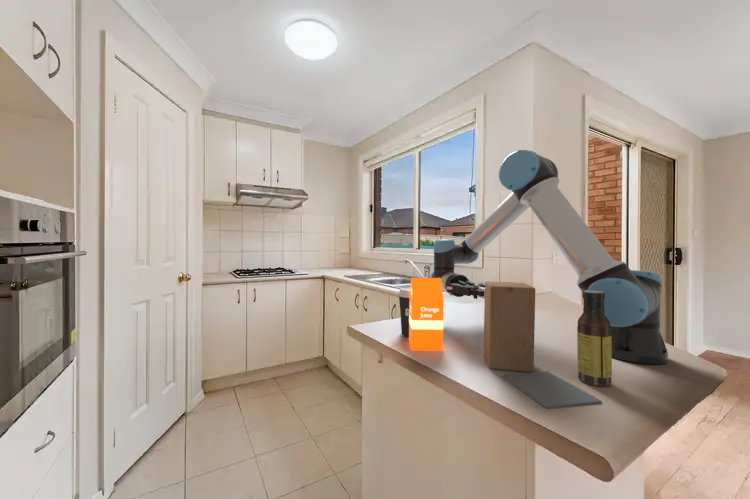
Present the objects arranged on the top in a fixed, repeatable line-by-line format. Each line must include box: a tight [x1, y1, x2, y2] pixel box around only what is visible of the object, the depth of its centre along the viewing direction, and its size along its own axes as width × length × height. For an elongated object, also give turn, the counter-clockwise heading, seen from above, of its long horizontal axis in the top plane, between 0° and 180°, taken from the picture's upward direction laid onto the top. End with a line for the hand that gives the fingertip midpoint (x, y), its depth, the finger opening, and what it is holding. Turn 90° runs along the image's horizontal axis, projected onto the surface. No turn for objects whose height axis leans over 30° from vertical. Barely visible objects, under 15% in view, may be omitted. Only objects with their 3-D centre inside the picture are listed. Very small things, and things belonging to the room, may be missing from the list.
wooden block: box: [483, 281, 536, 373], centre depth 79 cm, size 10×10×20 cm
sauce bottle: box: [576, 290, 613, 388], centre depth 69 cm, size 6×6×20 cm
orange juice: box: [408, 277, 444, 352], centre depth 91 cm, size 8×9×20 cm
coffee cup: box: [397, 286, 411, 338], centre depth 103 cm, size 10×10×15 cm
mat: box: [501, 371, 603, 409], centre depth 65 cm, size 14×12×1 cm
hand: (493, 295), depth 85 cm, fingers closed
